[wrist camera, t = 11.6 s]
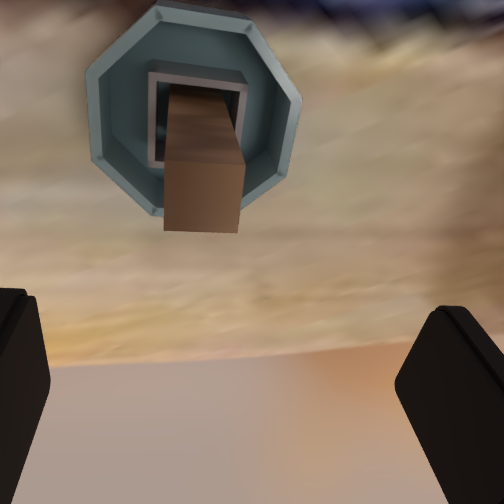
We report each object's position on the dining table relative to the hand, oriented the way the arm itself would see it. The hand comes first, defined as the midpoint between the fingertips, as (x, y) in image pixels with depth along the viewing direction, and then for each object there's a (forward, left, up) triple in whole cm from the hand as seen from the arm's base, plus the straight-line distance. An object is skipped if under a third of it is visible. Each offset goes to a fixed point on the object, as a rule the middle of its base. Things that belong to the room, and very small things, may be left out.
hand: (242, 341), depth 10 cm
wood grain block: (+1, 0, -20) cm, 20 cm away
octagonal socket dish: (+1, 0, -20) cm, 20 cm away
